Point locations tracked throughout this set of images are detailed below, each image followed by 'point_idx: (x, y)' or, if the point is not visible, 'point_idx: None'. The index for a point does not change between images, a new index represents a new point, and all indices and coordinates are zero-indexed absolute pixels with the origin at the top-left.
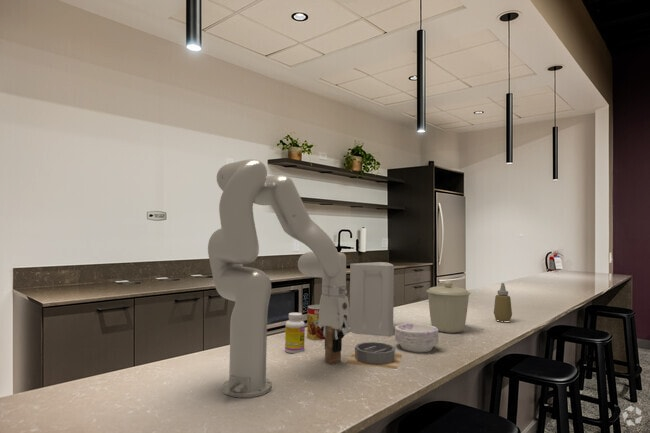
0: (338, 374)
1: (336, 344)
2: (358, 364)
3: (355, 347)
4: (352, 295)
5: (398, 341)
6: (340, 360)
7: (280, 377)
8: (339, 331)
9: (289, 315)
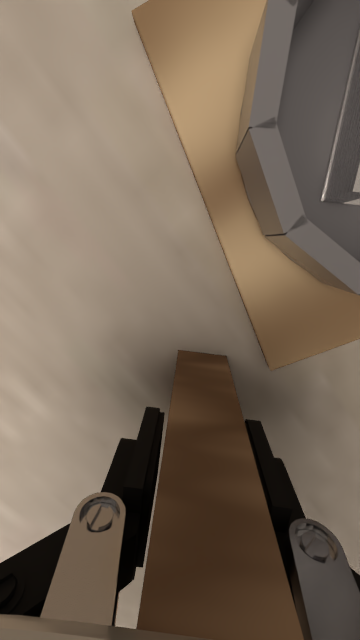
0: (316, 491)
1: None
2: (352, 336)
3: (297, 245)
4: None
5: None
6: (228, 366)
7: None
8: (304, 633)
9: None
